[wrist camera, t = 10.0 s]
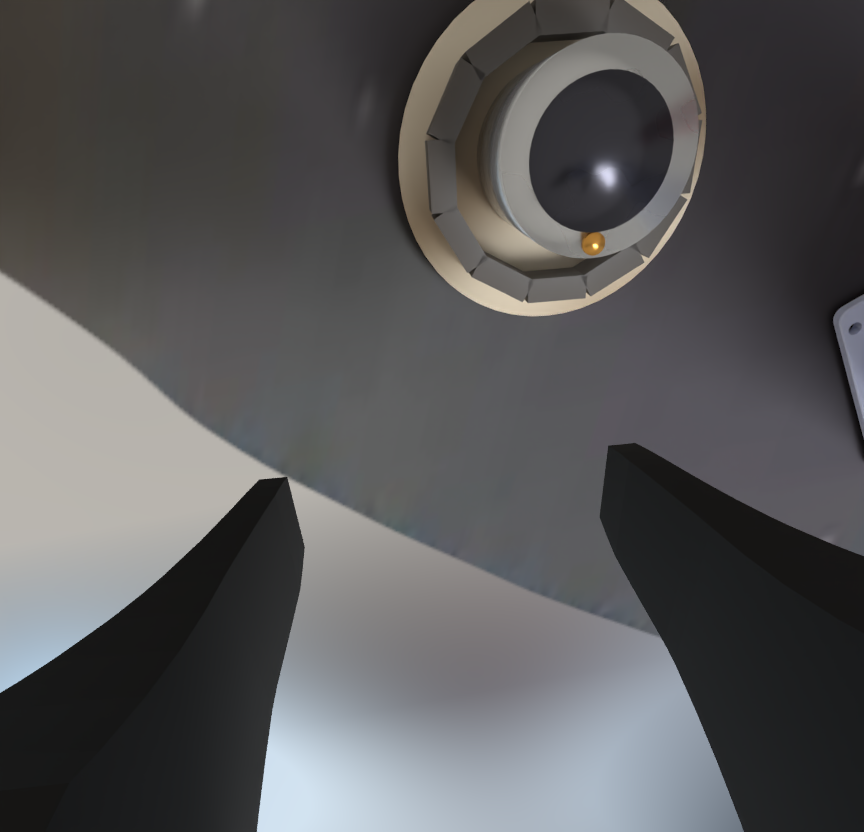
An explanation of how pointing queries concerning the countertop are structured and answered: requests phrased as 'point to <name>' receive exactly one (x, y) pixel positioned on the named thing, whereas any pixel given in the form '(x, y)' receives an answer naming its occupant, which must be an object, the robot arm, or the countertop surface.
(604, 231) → the lens
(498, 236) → the mount
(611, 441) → the countertop surface
